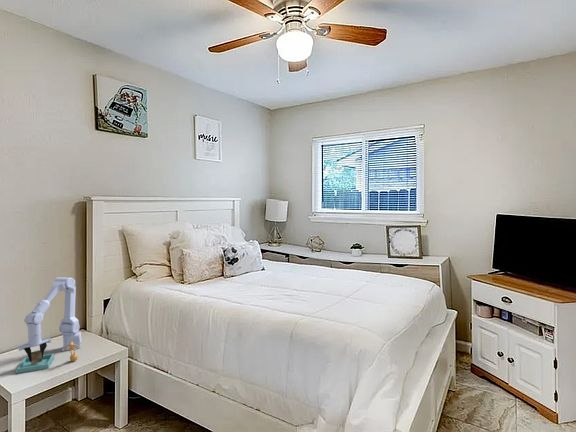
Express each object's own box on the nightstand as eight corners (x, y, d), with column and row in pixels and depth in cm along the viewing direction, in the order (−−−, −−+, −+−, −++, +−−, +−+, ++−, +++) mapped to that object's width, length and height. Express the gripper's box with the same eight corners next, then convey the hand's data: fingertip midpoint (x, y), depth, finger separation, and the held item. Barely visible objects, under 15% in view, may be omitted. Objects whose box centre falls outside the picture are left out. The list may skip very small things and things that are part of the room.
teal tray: (54, 357, 204) (54, 353, 204) (48, 368, 191) (48, 364, 191) (25, 362, 199) (24, 357, 199) (16, 373, 186) (16, 369, 186)
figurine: (83, 358, 203) (82, 338, 202) (79, 363, 197) (78, 342, 196) (67, 359, 201) (66, 339, 201) (62, 364, 195) (61, 343, 195)
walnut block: (39, 358, 198) (39, 350, 198) (41, 361, 195) (41, 352, 195) (30, 361, 195) (29, 352, 195) (32, 364, 192) (31, 355, 192)
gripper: (48, 329, 202) (49, 352, 203) (16, 336, 191) (18, 361, 192) (51, 332, 197) (53, 356, 198) (19, 340, 187) (21, 365, 187)
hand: (36, 359), depth 195 cm, fingers closed on walnut block, 4 cm apart
